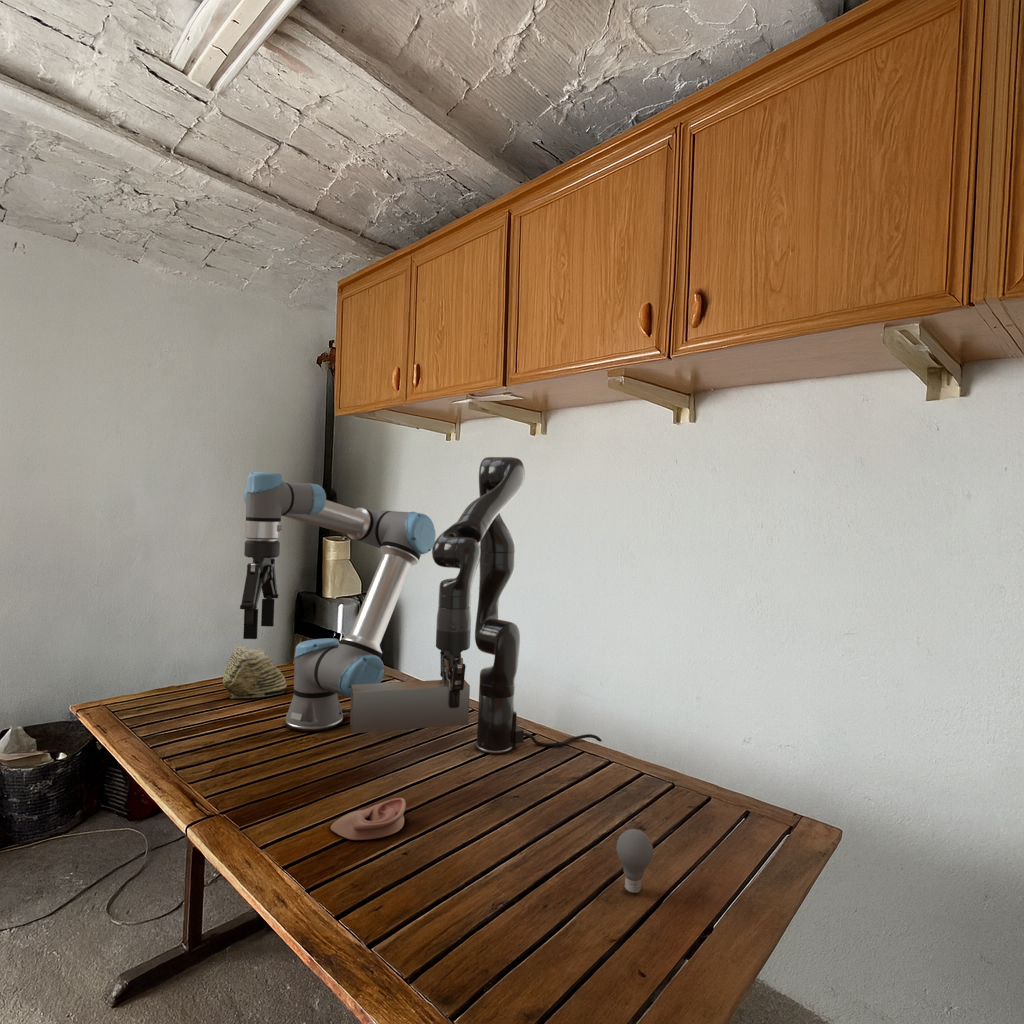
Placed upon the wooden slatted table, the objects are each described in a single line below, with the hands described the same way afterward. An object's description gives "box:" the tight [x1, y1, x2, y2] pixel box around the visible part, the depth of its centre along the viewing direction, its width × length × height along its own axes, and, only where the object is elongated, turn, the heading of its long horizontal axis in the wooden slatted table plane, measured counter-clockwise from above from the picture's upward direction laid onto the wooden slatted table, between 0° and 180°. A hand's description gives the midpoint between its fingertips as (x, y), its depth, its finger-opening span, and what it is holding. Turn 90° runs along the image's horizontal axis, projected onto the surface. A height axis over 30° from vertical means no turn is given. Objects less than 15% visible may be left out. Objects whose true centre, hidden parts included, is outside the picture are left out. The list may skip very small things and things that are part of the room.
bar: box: [349, 679, 471, 734], centre depth 137 cm, size 25×5×9 cm, turn 109°
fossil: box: [222, 646, 288, 699], centre depth 198 cm, size 9×18×15 cm, turn 132°
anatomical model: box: [330, 797, 407, 841], centre depth 123 cm, size 13×4×12 cm
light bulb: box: [615, 828, 654, 894], centre depth 106 cm, size 6×6×10 cm
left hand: (259, 632), depth 145 cm, fingers open, 13 cm apart
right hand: (450, 702), depth 140 cm, fingers closed on bar, 5 cm apart
